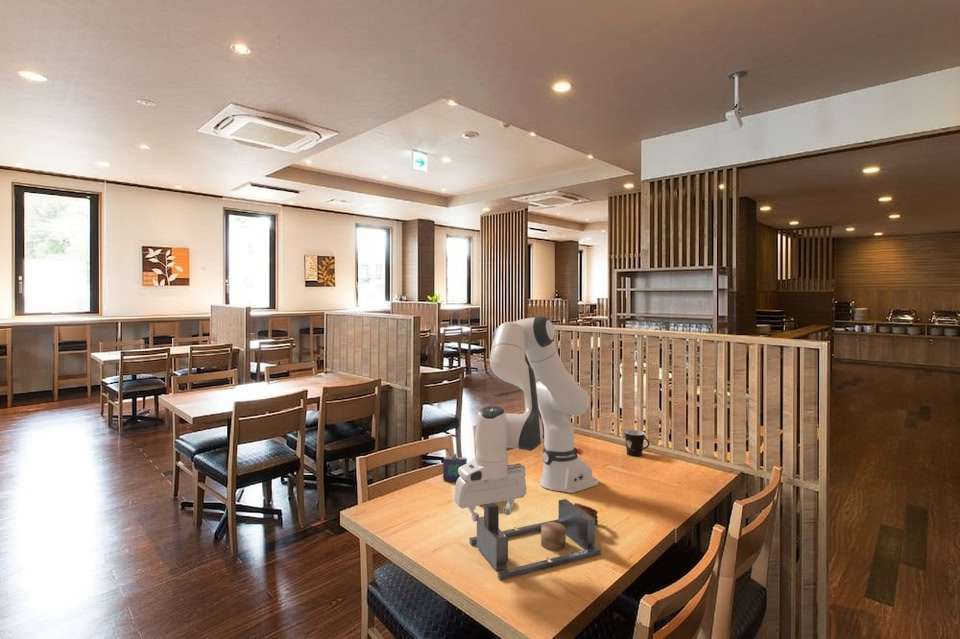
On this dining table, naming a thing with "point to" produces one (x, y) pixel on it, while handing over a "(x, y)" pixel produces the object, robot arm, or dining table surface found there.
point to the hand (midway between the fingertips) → (491, 517)
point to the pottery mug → (588, 511)
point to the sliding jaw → (492, 537)
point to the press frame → (577, 529)
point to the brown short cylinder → (553, 536)
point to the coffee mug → (635, 442)
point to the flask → (452, 467)
